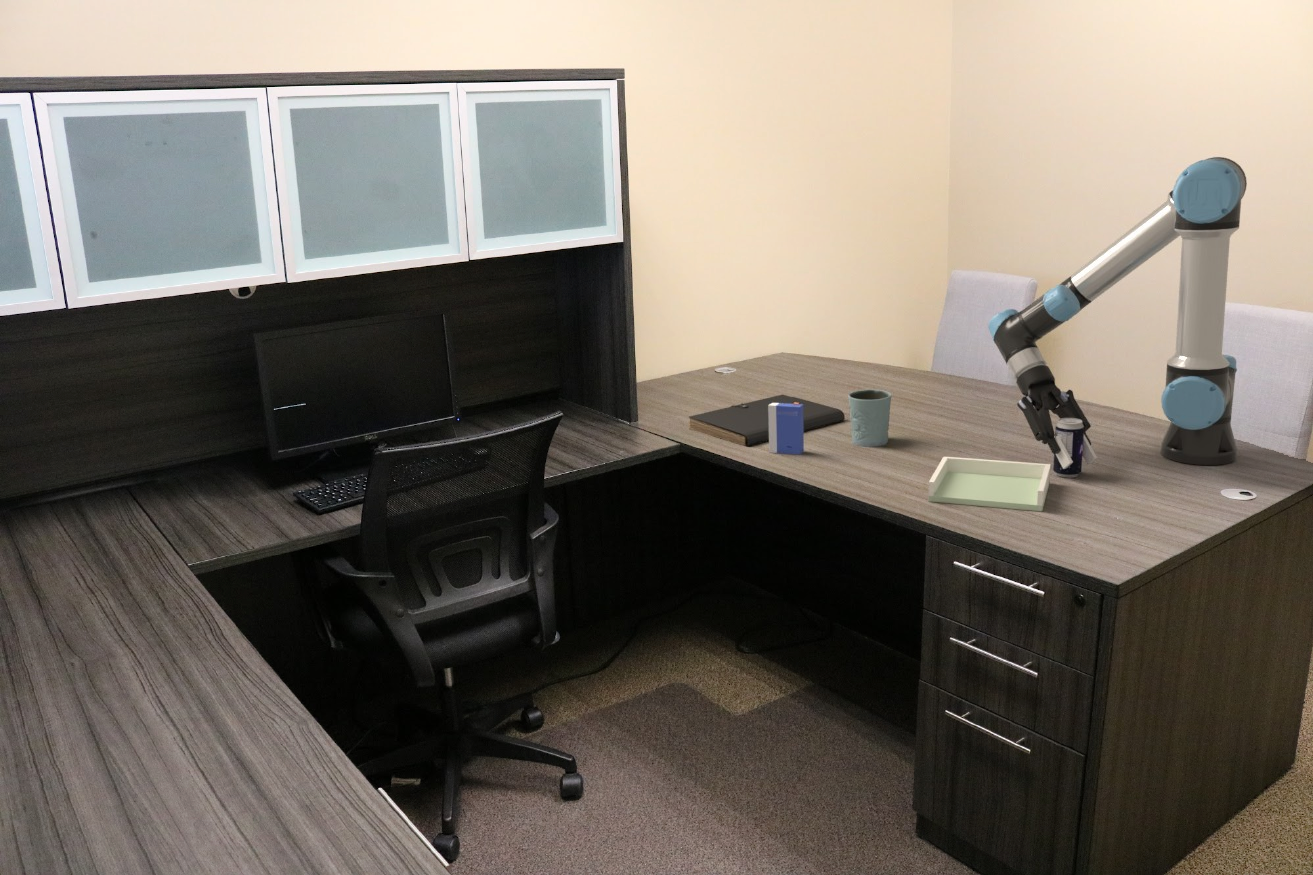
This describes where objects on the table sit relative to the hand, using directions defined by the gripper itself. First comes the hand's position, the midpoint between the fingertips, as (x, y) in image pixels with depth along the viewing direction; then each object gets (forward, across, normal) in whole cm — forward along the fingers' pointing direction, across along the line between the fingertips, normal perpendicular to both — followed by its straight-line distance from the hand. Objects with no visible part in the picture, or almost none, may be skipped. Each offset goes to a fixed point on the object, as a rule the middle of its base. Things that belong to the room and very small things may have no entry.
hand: (1080, 463), depth 230 cm
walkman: (-32, +44, -37) cm, 66 cm away
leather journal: (-49, +37, -55) cm, 82 cm away
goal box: (+1, +21, -4) cm, 22 cm away
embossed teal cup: (-30, +23, -35) cm, 51 cm away
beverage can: (0, 0, -5) cm, 5 cm away
